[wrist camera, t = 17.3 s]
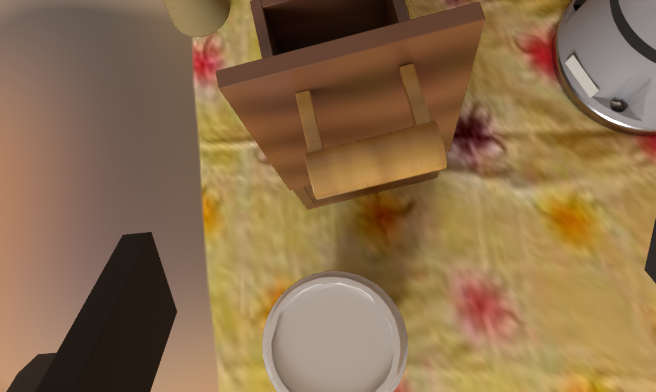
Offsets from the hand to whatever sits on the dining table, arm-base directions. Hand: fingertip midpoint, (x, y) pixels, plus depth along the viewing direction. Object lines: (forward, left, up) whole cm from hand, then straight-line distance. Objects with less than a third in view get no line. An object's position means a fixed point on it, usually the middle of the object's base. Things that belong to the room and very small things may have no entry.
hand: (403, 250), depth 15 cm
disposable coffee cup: (+5, +2, -33) cm, 34 cm away
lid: (0, -10, -16) cm, 19 cm away
